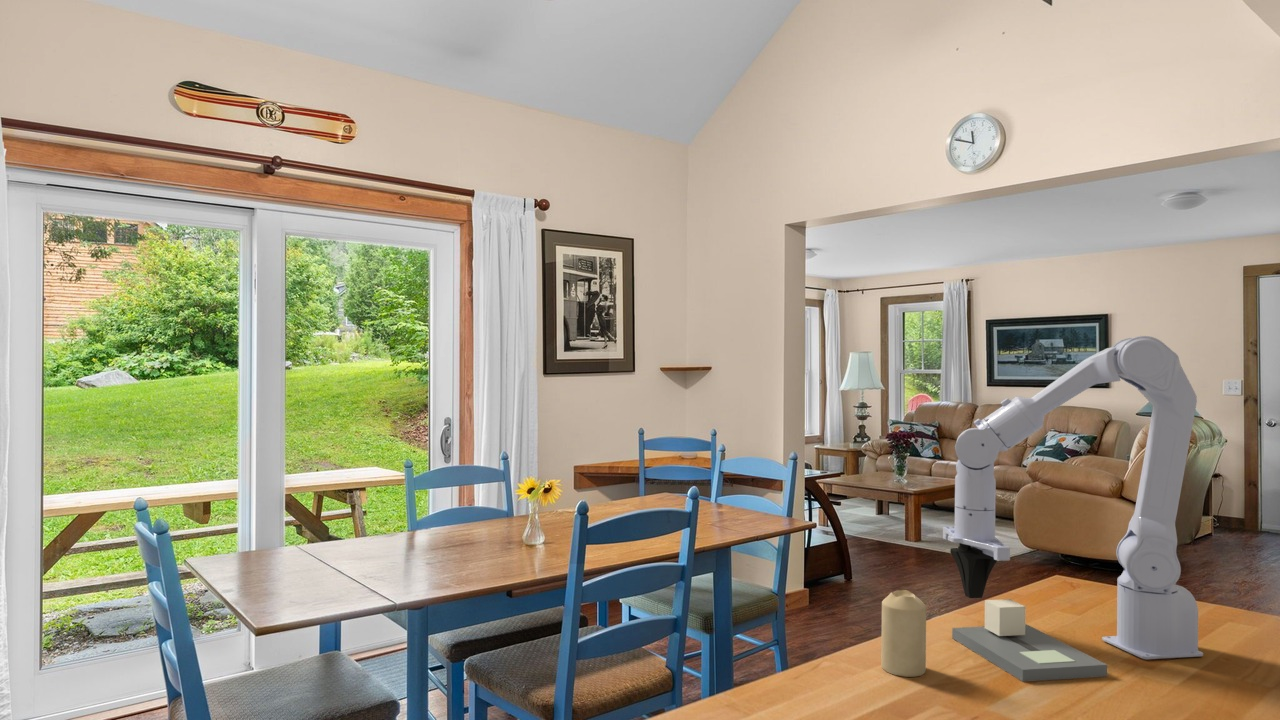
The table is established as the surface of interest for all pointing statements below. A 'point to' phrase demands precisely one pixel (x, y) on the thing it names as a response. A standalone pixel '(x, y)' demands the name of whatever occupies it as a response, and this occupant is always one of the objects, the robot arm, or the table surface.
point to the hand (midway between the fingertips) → (973, 596)
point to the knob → (1005, 617)
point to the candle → (903, 634)
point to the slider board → (1030, 654)
